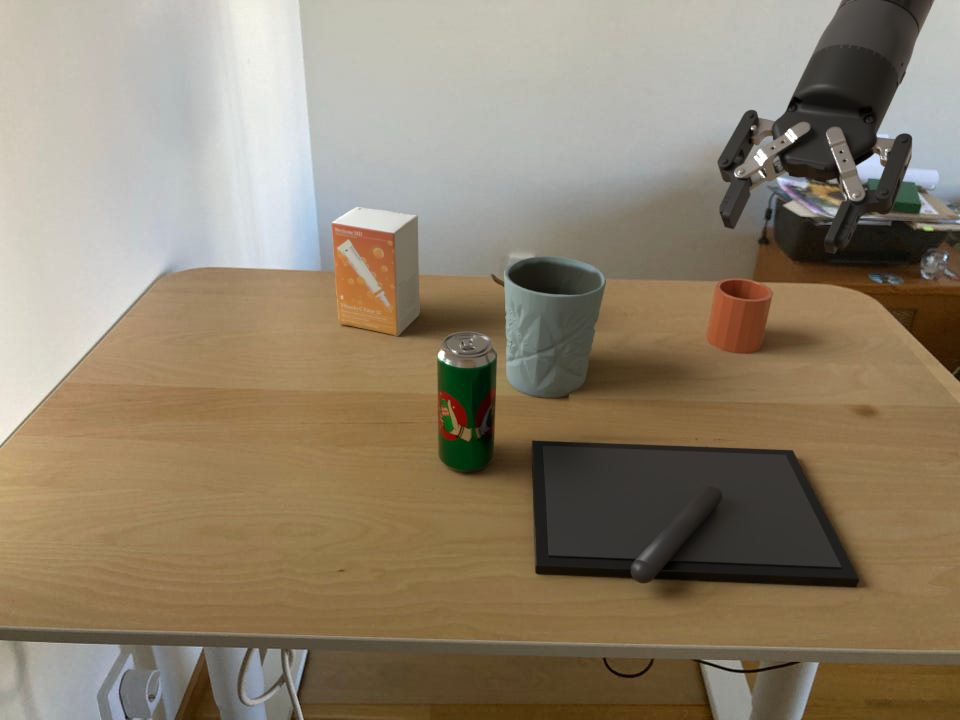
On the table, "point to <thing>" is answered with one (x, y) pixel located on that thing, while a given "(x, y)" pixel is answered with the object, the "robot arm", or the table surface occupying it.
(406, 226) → the small box
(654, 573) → the stylus
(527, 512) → the table surface
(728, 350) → the pen pot
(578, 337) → the embossed blue-green cup
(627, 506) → the tablet
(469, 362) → the soda can
